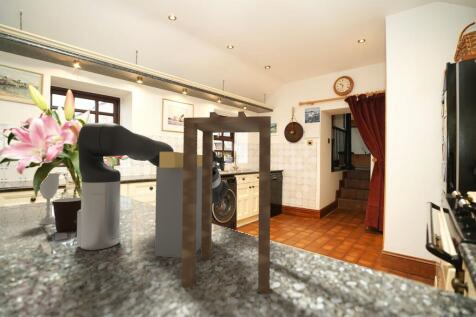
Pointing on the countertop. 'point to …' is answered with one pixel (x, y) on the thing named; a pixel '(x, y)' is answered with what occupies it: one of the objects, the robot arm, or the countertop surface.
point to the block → (173, 211)
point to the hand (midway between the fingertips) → (198, 152)
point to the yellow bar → (174, 160)
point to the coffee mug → (66, 214)
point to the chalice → (49, 195)
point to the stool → (190, 189)
